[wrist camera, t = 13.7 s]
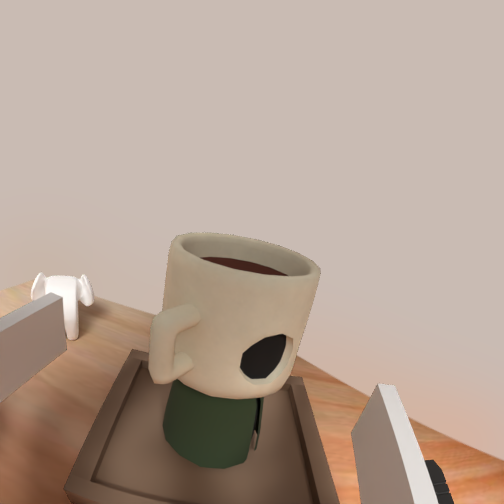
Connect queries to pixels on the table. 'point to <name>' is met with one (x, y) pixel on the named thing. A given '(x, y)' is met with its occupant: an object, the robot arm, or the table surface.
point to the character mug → (226, 339)
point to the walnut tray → (185, 472)
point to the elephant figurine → (66, 297)
